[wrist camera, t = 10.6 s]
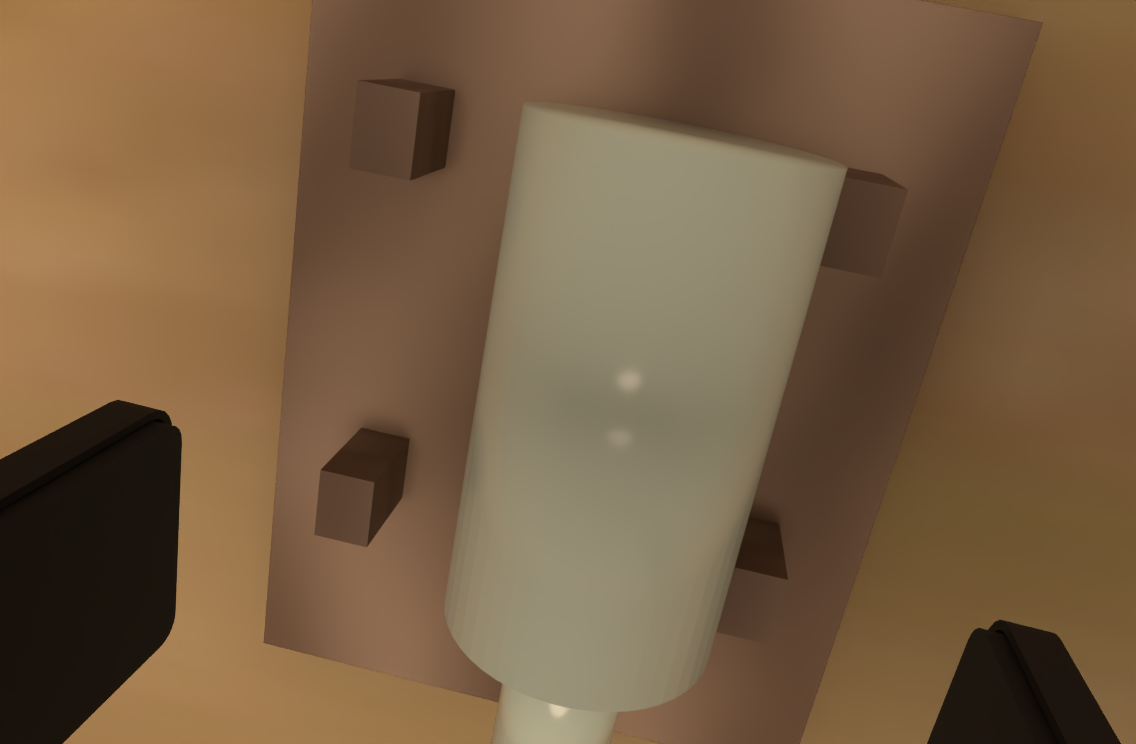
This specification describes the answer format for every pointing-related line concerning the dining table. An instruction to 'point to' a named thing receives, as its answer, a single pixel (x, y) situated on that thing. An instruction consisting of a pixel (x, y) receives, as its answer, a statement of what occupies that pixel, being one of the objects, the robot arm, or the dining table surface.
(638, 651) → the sage bottle
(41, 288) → the dining table surface
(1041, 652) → the robot arm
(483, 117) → the walnut cradle
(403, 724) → the dining table surface
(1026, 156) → the dining table surface
